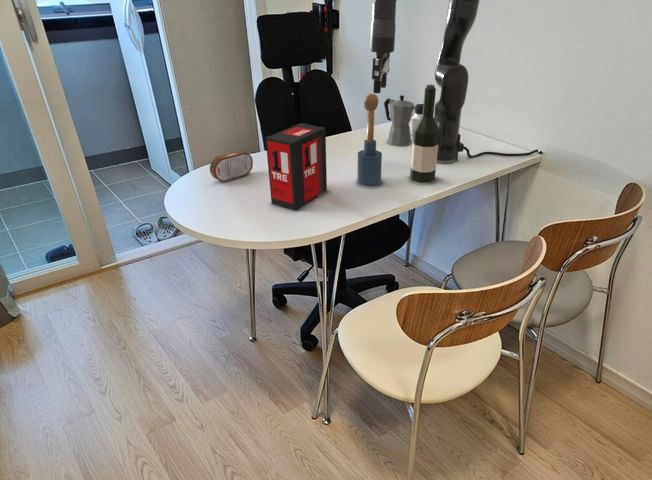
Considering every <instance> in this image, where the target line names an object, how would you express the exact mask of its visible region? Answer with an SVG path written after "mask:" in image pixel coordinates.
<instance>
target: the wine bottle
mask: <svg viewBox="0 0 652 480" xmlns="http://www.w3.org/2000/svg"><path fill="white" fill-rule="evenodd" d="M423 92H424V94H423V103H424V104H423V116H422V117H421V119H420V120H419V122H418V123H417V125H416V126H415V127H414V131H413V136H412V145H411V146H412V147H411V160H410V172H409V173H410V174H409V178H410V180H411V181H412V182H415V183H419V184H424V183H425V184H430V183H432V182H433V181H435V180H436V172H437V171H436V170H437V153H438V143H439V134H440V131H439V129H438V126H437V124H436V122H435V120H434V112H435V104H436V95H437V89H436V86H435V84H426V87H424V91H423Z"/></svg>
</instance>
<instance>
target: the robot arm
mask: <svg viewBox="0 0 652 480" xmlns="http://www.w3.org/2000/svg"><path fill="white" fill-rule="evenodd" d="M397 1H398V0H372V8H371V9H372V10H371V11H372V13H371V14H372V15H371V23H370V35H369V36H370V39H369V50H370V52H372V53H375V54H376V55H375V57H373V58H372V68H371V69H372V71H371V79H372V80H373V89H372V90H373V94H381V92H382V88H383V89H385V88H387V80H388V79H387V78H388V74H389V72H390V59H391V58H390V57H391V53H394V52H395V46H396V45H395V43H396V29H397V27H396V17H397ZM479 5H480V0H449V1H448V7H447V14H446V21H445V25H444V33H443V37H442V45H441V48H440V52H439V55H438V59H437V61H436V62H437V63H436V66H435V71H434V80H435V82H436V83H435V84H436V85H437V86H439V88H441V90H440V97H439V100H437V101H435V104H434V115H433V118H434V120H435V122H436V124H437V126H438V129H439V131H440V134H439V143H438V153H437V162H436V164H437V163H438V164H451V163H454V162H457V161H458V159H459V153H461V152H462V153H463V152H464V151H466V156H467V158H469V159H473V158H474V159H475V158H478V157H480V156H484V155H492V156H500V157H501V156H502V157H525V156H531V155H534V154H536V153H539V154H540V155H542V154H544V152H543V150H541V151H540V152H538V149H537V148H536V149H534V150H531V151H529V152H521V153H506V152H496V151H482V152H479V153H477V154H475V155H472V154H471V152H470V149H469V148H468V147H467V146H465V144H464V143H463V142H462V141H461V136H462V135H461V134H460V126H461V119H462V109H463V107H464V106H465V103H466V97H467V92H468V85H469V71H468V69H467V67H466V66H465V65H463V64H461V58H462V52H463V47H464V44H465V41H466V39H467V37H468V35H469V33H470V32H471V30H472V29H473V26H474V24H475V21H476V19H477V15H478V10H479Z"/></svg>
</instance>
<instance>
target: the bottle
mask: <svg viewBox="0 0 652 480" xmlns="http://www.w3.org/2000/svg"><path fill="white" fill-rule="evenodd" d="M382 161H383V153H382V152H381V150H380V151H379V150H377V140H376V139H373V142H371V143H370V142H367V139H364V141H363V149H361V150H359V151H358V152H357V171H356V172H357V175H356V176H357V178H356V181H357V184H359V185H360V186H363V187H376V186H379V185H380V184H381V182H382V165H383V163H382Z"/></svg>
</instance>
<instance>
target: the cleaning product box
mask: <svg viewBox="0 0 652 480" xmlns="http://www.w3.org/2000/svg"><path fill="white" fill-rule="evenodd" d="M326 136H327V135H326V127H323V126H319V125H312V124H308V123H303V122H300V123H298V124H295V125H292V126H291V127H288V128H286V129H283V130H280V131H278V132H275V133H274V134H270V135H269V136H266V137H265V146H266V147H265V148H266V157H267V169H268V179H269V180H268V181H269V191H270V200H271V201H270V202H271V205H274V206H276V207H277V206H278V207H281V208H285V209H288V210H292V211H298V210H299V209H301V208H302V207H305V206H306V205H307V204H310V203H311V202H313V201H314V200H316V199H317V198H319V195H321V194H322V193H324V192H326V191H327V190H328V179H327V178H328V177H327V175H328V174H327V173H328V172H327V137H326Z"/></svg>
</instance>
